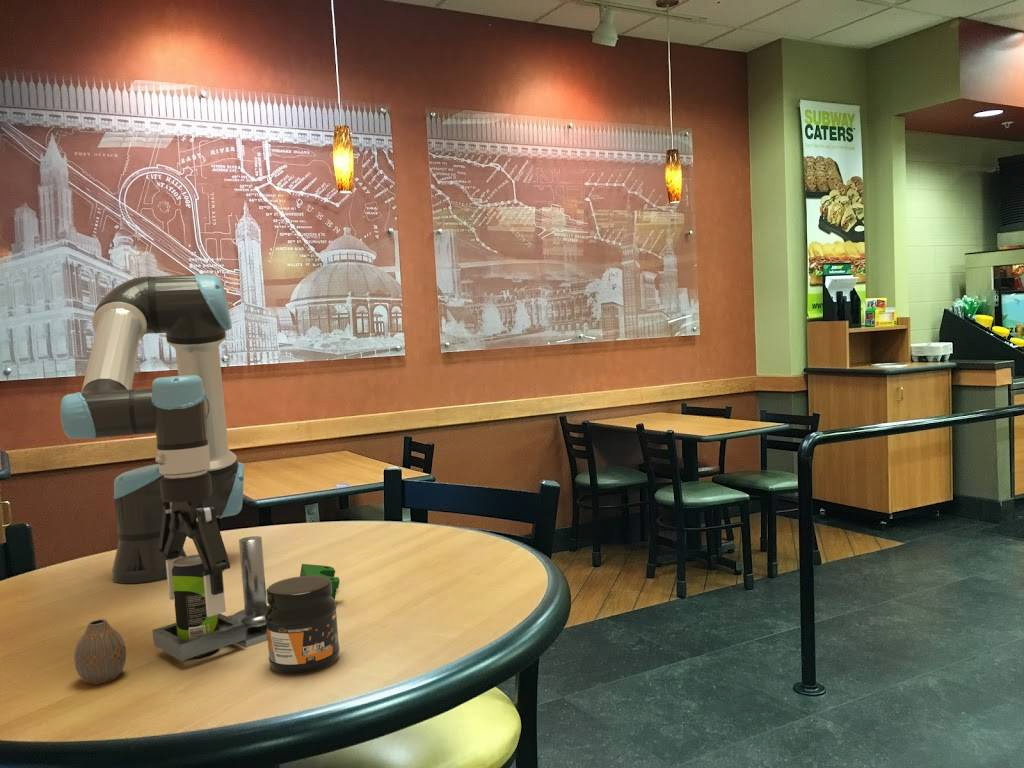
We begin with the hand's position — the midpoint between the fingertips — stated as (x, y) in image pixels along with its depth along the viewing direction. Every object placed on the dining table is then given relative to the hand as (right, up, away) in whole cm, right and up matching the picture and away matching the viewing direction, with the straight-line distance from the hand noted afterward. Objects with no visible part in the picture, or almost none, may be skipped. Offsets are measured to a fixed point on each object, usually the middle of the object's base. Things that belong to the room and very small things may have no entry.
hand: (196, 605), depth 130 cm
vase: (-11, -9, -8) cm, 16 cm away
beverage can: (0, -8, 0) cm, 8 cm away
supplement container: (+19, -7, -6) cm, 21 cm away
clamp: (+14, -6, +23) cm, 28 cm away
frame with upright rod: (+4, -7, +4) cm, 9 cm away
